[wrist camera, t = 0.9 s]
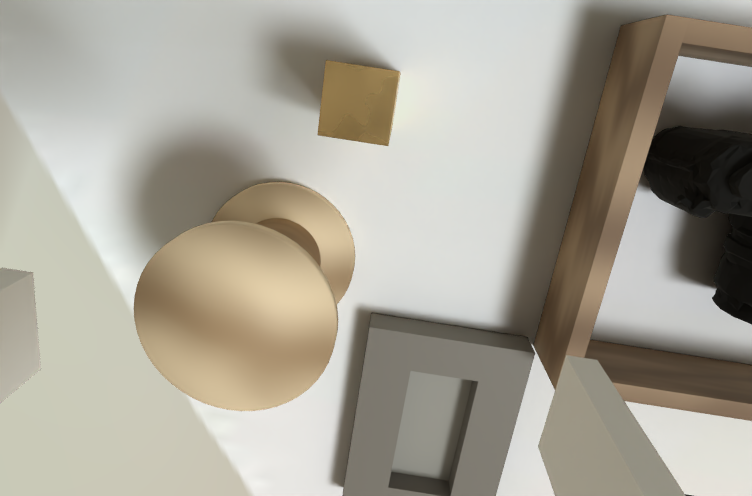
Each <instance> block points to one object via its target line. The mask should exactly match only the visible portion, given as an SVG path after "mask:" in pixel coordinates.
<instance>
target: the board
mask: <svg viewBox="0 0 752 496" xmlns="http://www.w3.org/2000/svg"><path fill="white" fill-rule="evenodd" d="M534 355H535V352H534V350H533V348H532V346H531V344H530V341H529V339H528V337H523V336H516V335H510V334H503V333H497V332H491V331H484V330H478V329H471V328H465V327H459V326H452V325H446V324H439V323H433V322H427V321H420V320H414V319H407V318H401V317H394V316H388V315H382V314H375V313H371V320H370V326H369V332H368V338H367V345H366V351H365V357H364V364H363V370H362V376H361V382H360V389H359V395H358V401H357V407H356V414H355V420H354V426H353V432H352V439H351V445H350V451H349V458H348V464H347V470H346V476H345V483H344V489H343V496H496V493H497V489H498V485H499V482H500V478H501V475H502V471H503V467H504V464H505V460H506V456H507V453H508V449H509V446H510V442H511V438H512V435H513V431H514V428H515V424H516V420H517V417H518V413H519V409H520V406H521V402H522V399H523V395H524V391H525V388H526V384H527V380H528V377H529V373H530V370H531V366H532V362H533V359H534Z"/></svg>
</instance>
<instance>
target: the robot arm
mask: <svg viewBox="0 0 752 496" xmlns="http://www.w3.org/2000/svg"><path fill="white" fill-rule="evenodd" d="M39 370H41V362H40V351H39V339H38V327H37V316H36V303H35V291H34V279H33V272H26V271H20V270H13V269H7V268H0V403H1V402H2V401H4V400H5V399H6V398H7V397H8V396H10V395H11V394H12V393H13V392H14V391H15V390H17V389H18V388H19V387H20V386H21V385H23V384H24V383H25V382H26V381H27V380H29V379H30V378H31V377H32V376H33V375H35V374H36V373H37V372H38V371H39ZM538 448H539V450H540V453H541V456H542V459H543V462H544V465H545V468H546V471H547V473H548V476H549V479H550V482H551V485H552V488H553V491H554V494H555V496H692V495H686V494H684V492H683V491H682V489H681V488H680V486H679V485H678V483H677V482H676V480H675V479H674V477H673V476H672V474H671V472H670V471H669V469H668V468H667V466H666V465H665V463H664V462H663V460H662V459H661V457H660V456H659V454H658V452H657V451H656V449H655V448H654V446H653V445H652V443H651V442H650V440H649V439H648V437H647V436H646V434H645V433H644V431H643V429H642V428H641V426H640V425H639V423H638V422H637V420H636V419H635V417H634V416H633V414H632V413H631V411H630V409H629V408H628V406H627V405H626V403H625V402H624V400H623V399H622V397H621V396H620V394H619V393H618V391H617V389H616V388H615V386H614V385H613V383H612V382H611V380H610V379H609V377H608V376H607V374H606V373H605V371H604V369H603V368H602V366H601V365H600V363H599V362H598V360H594V359H587V358H581V357H575V356H568V355H566V358H565V361H564V364H563V367H562V370H561V374H560V377H559V380H558V383H557V387H556V390H555V393H554V396H553V400H552V403H551V406H550V409H549V413H548V416H547V419H546V422H545V426H544V429H543V432H542V435H541V439H540V442H539V445H538Z"/></svg>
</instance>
